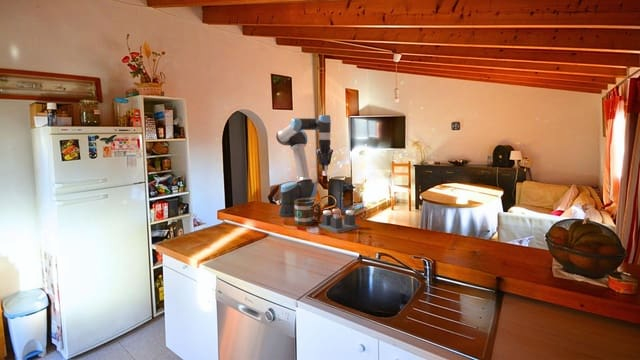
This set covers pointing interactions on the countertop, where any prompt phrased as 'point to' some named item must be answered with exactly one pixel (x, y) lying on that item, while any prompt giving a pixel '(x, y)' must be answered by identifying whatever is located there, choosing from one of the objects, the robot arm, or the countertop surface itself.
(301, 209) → the mug
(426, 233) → the countertop surface
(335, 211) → the terracotta knob
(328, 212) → the cream knob near
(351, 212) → the cream knob left
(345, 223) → the knob mount
